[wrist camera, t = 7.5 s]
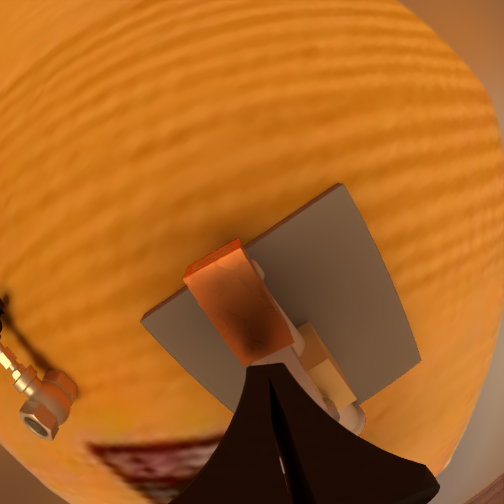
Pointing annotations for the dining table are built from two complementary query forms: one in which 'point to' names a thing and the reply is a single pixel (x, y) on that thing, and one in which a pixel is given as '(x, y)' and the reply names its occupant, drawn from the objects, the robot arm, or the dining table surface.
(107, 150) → the dining table surface
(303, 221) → the pipe board
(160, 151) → the dining table surface
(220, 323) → the valve lever
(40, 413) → the valve
